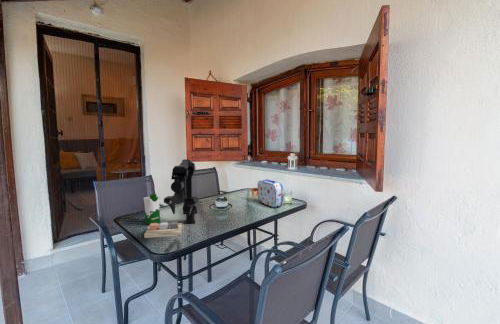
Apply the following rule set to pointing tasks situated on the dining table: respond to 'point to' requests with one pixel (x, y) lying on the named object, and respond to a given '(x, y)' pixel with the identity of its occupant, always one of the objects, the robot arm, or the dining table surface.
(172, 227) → the key charcoal
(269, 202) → the lunch box
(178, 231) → the keypad board
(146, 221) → the milk carton
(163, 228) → the key grey
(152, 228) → the key terracotta
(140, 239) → the dining table surface
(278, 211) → the dining table surface
